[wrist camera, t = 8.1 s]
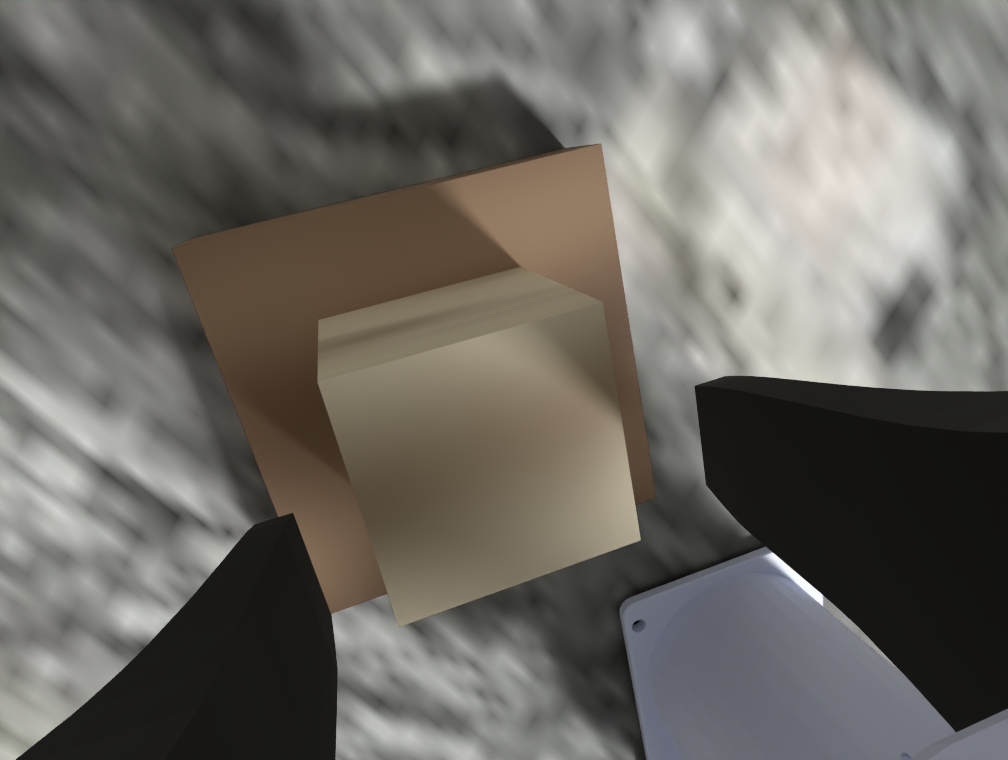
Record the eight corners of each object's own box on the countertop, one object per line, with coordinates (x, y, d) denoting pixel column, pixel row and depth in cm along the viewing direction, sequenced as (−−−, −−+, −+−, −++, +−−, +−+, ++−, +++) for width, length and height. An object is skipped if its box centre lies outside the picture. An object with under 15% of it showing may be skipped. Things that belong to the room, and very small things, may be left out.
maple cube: (557, 446, 18) (641, 540, 13) (377, 503, 17) (399, 627, 12) (520, 266, 16) (602, 301, 11) (318, 320, 15) (317, 381, 10)
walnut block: (613, 456, 22) (656, 497, 19) (318, 557, 20) (318, 617, 17) (558, 148, 18) (601, 143, 16) (196, 236, 16) (171, 247, 14)
